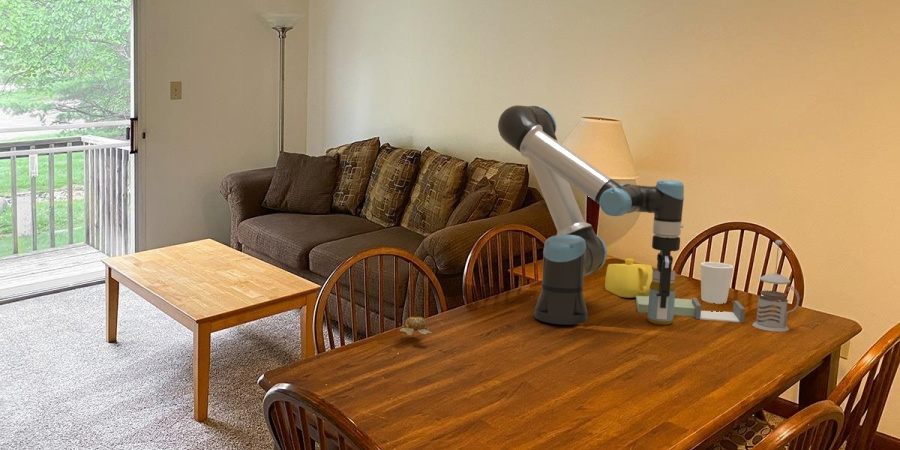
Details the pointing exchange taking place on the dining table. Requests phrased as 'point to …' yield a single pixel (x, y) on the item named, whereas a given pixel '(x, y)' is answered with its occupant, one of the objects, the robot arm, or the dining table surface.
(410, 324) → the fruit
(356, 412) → the dining table surface
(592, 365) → the dining table surface
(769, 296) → the french press
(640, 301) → the green bar on base
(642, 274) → the teapot
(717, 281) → the cup
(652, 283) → the bottle
